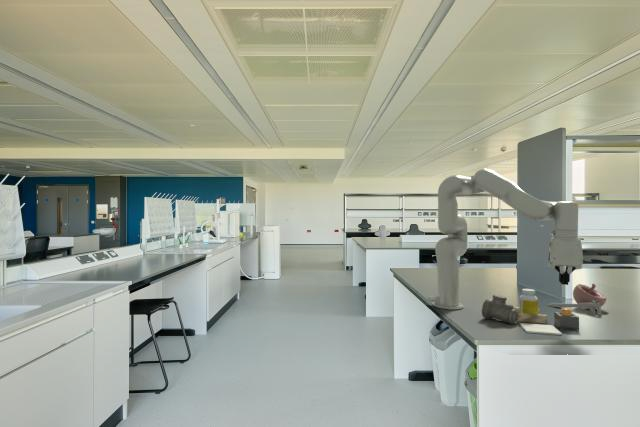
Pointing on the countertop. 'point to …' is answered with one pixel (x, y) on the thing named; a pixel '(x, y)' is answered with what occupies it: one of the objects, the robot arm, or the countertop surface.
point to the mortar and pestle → (588, 295)
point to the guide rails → (531, 317)
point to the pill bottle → (528, 302)
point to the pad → (540, 329)
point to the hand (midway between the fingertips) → (564, 284)
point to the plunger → (566, 312)
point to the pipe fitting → (499, 310)
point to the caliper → (582, 305)
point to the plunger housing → (566, 321)
